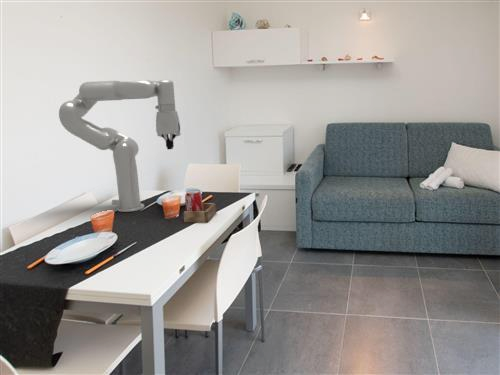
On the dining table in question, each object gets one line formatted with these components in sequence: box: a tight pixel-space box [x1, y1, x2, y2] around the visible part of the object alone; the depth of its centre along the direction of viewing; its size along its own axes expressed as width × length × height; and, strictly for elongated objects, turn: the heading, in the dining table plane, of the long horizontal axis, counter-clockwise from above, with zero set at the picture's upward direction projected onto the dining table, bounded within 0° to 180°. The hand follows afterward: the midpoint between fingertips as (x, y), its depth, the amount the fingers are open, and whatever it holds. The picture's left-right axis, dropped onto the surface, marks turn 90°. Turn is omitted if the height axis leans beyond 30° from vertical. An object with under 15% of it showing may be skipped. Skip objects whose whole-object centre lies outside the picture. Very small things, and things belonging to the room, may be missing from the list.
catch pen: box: [183, 202, 217, 224], centre depth 216 cm, size 10×14×4 cm
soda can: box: [184, 189, 203, 211], centre depth 213 cm, size 7×7×12 cm
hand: (170, 148), depth 230 cm, fingers closed
